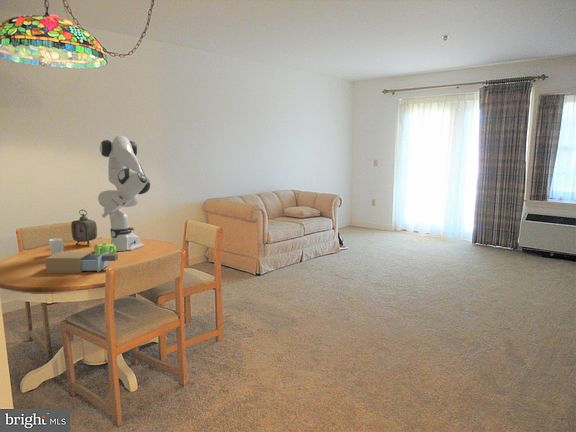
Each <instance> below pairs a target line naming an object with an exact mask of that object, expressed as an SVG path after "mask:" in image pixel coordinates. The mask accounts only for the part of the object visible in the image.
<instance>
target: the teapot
mask: <svg viewBox="0 0 576 432" xmlns="http://www.w3.org/2000/svg"><path fill="white" fill-rule="evenodd" d="M93 251H94V255H103V254H104V253H106V252H108V253H109V254H117V252H118V251H117V250H116V246H114V243H111V242H110V243H108V242H102V243H101V244H97V243H96V244H94V249H93Z"/></svg>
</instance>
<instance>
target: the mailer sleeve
mask: <svg viewBox="0 0 576 432" xmlns="http://www.w3.org/2000/svg"><path fill="white" fill-rule="evenodd" d="M87 255H92V251H64V252H58V253H56V254H54V255H51V254H50V255H49V256H48V257H45V259H44V262H45V271H46V272H45V273H46V274H71V273H72V274H76V273H77V274H78V273H79V274H80V273H82V272H84V271H81V263H80V259H81V258H83V257H85V256H87Z"/></svg>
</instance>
